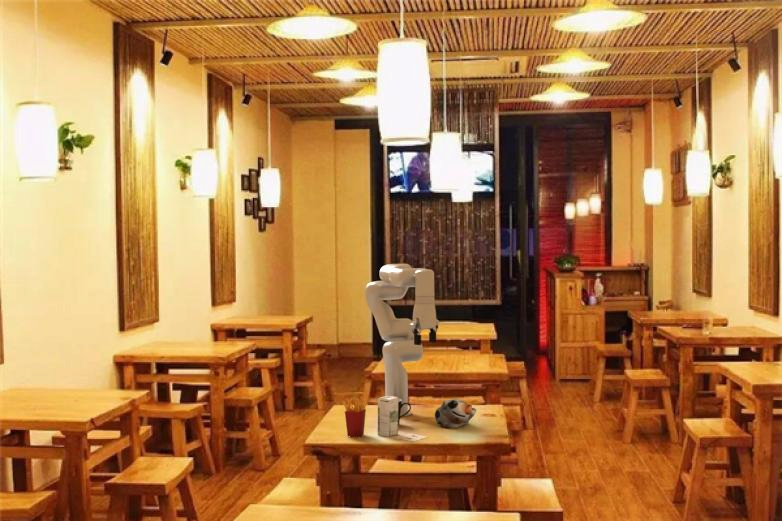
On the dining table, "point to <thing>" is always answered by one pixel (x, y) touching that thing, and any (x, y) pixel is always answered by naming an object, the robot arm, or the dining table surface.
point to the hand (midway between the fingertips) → (425, 343)
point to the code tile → (411, 437)
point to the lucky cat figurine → (454, 413)
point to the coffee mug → (400, 409)
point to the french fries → (355, 417)
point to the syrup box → (388, 416)
